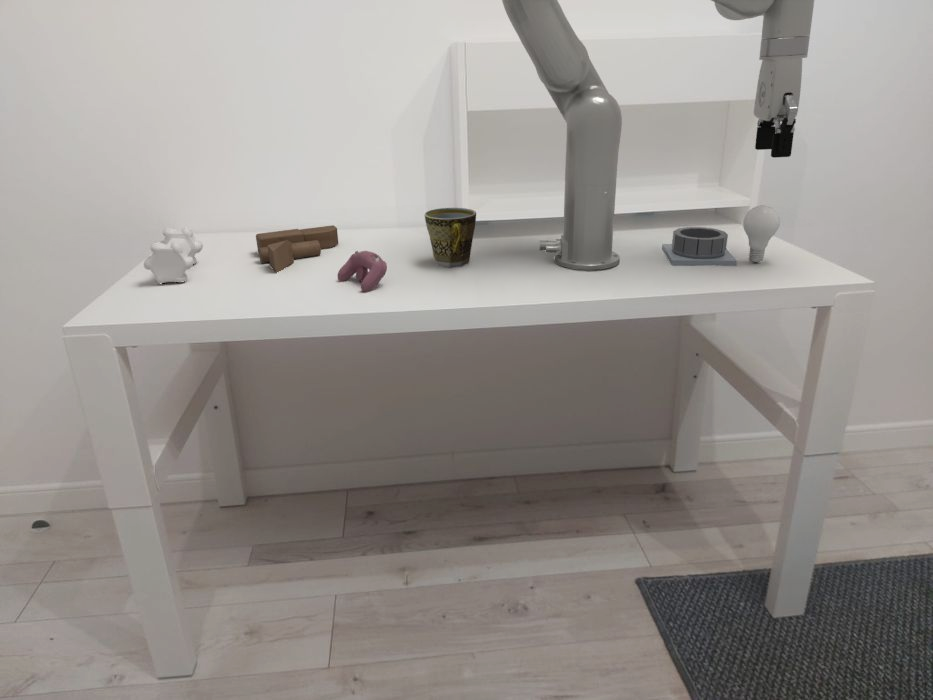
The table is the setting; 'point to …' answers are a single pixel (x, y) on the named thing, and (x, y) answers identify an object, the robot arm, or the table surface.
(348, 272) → the video game controller
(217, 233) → the table surface
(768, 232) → the lightbulb
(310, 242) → the wooden block set
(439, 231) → the ceramic cup
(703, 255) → the socket
